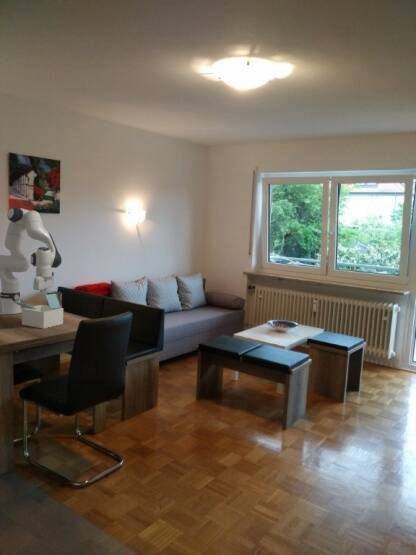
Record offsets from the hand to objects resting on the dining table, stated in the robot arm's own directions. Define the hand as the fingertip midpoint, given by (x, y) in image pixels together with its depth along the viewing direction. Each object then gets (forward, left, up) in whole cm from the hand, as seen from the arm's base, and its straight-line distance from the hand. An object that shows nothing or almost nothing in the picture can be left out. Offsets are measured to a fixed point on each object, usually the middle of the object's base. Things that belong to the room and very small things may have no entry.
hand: (43, 295), depth 276 cm
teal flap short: (+10, 0, -7) cm, 12 cm away
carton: (+2, -2, -18) cm, 18 cm away
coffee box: (-10, +20, -18) cm, 28 cm away
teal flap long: (0, -10, -7) cm, 12 cm away
